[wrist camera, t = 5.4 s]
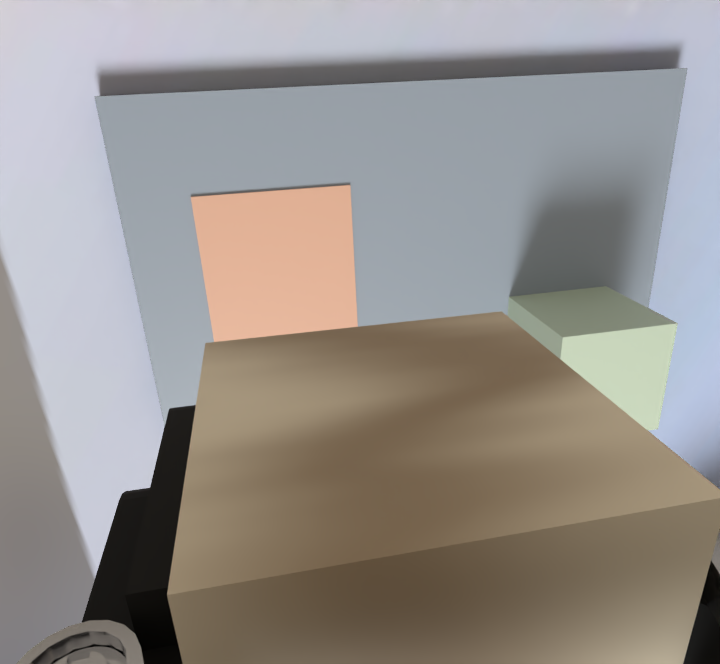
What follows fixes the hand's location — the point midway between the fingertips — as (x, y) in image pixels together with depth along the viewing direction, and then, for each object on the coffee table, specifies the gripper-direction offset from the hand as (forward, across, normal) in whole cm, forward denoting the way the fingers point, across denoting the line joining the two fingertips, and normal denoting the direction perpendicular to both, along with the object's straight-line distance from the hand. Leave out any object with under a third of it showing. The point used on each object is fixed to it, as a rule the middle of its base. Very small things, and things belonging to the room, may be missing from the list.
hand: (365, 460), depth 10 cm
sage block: (+15, -12, +5) cm, 20 cm away
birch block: (0, 0, 0) cm, 0 cm away
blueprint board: (+16, -5, +1) cm, 17 cm away
